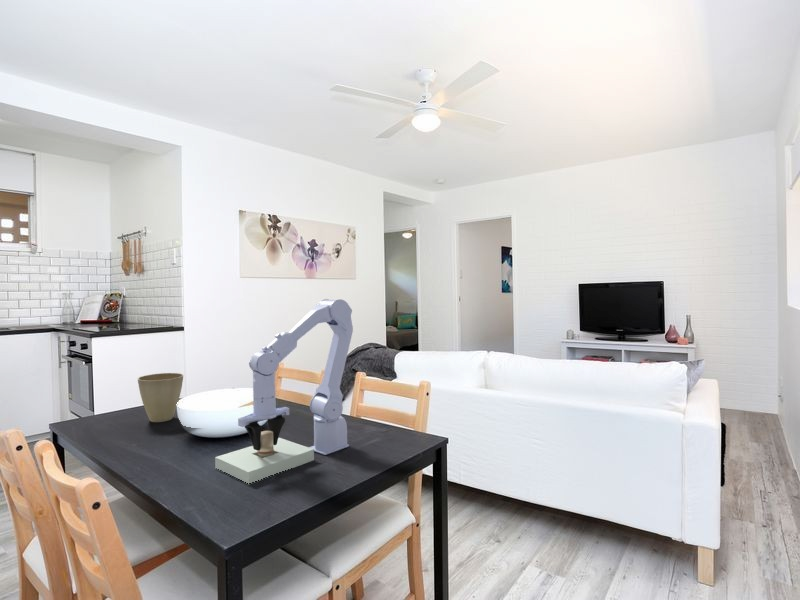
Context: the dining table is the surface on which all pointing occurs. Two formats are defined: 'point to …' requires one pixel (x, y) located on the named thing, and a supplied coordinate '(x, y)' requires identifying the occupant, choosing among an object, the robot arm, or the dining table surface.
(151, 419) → the plant pot
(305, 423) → the dining table surface
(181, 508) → the dining table surface
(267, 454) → the peg
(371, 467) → the dining table surface
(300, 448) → the board
